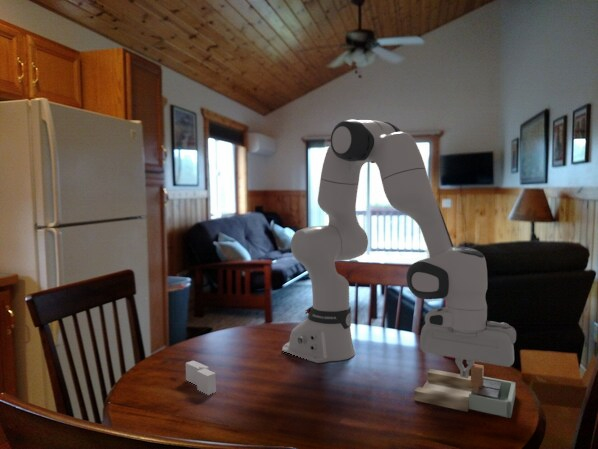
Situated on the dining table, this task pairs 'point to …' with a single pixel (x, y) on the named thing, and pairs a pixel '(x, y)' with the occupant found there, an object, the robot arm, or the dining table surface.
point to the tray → (495, 400)
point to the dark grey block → (493, 386)
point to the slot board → (445, 390)
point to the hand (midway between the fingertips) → (464, 377)
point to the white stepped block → (201, 377)
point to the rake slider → (477, 378)
